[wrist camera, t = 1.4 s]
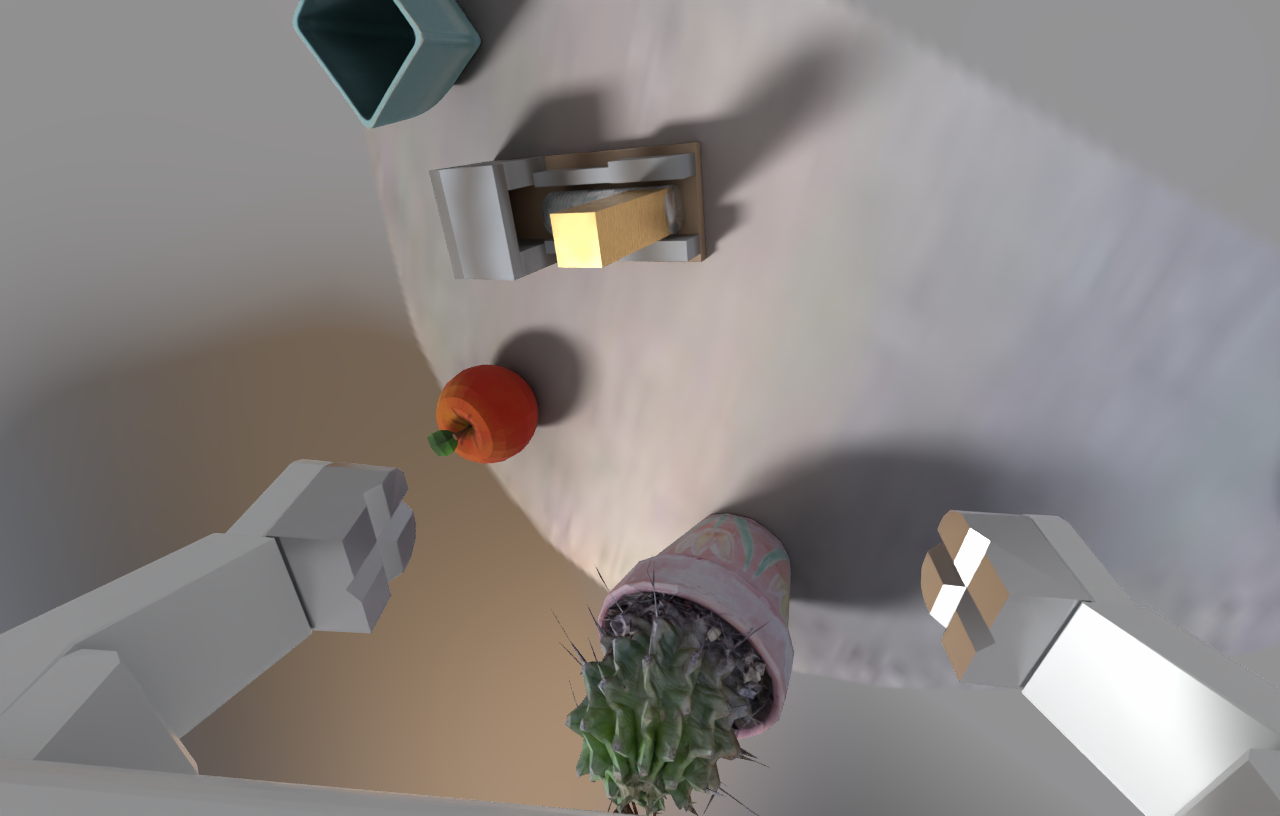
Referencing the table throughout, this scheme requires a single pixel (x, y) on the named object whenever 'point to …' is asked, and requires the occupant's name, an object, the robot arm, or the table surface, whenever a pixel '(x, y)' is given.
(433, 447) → the fruit
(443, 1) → the flower pot
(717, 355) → the table surface
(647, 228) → the tall wooden block
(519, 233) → the rail base
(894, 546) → the table surface
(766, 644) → the potted plant
